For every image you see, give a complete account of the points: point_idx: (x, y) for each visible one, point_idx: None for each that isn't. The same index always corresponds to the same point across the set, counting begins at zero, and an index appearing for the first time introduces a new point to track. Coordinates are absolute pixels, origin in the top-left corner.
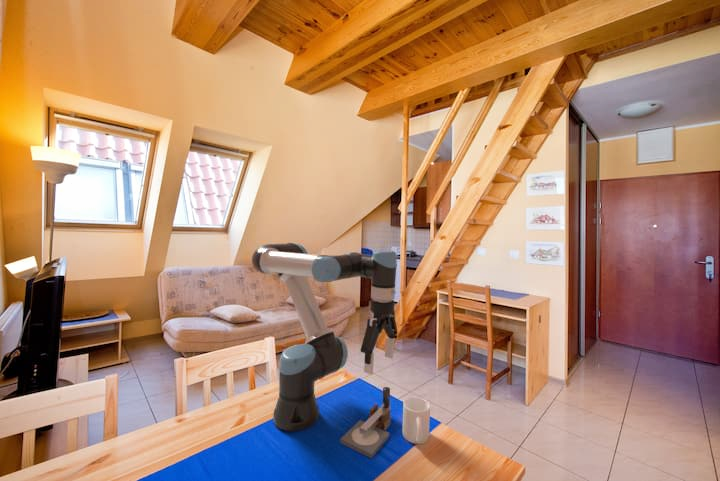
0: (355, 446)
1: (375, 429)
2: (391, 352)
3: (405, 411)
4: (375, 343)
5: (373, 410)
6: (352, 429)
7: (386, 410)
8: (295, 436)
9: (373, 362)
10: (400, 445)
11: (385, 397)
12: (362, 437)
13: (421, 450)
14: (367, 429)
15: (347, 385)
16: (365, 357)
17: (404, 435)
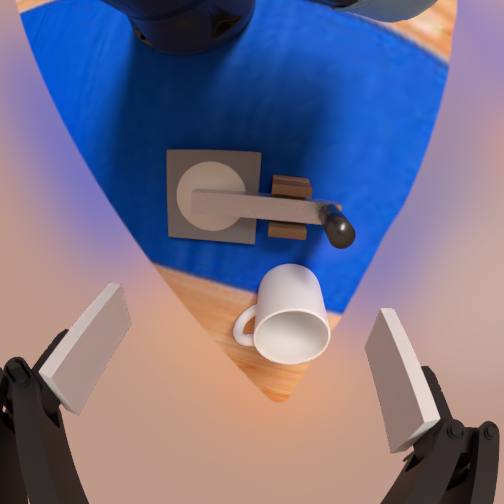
0: (167, 194)
1: None
2: (375, 371)
3: (261, 313)
4: (72, 468)
5: (280, 193)
6: (213, 155)
7: (295, 231)
8: (136, 56)
9: (103, 369)
10: (241, 270)
11: (324, 227)
12: None
13: None
14: (197, 213)
15: (411, 47)
16: (44, 358)
17: (264, 276)
